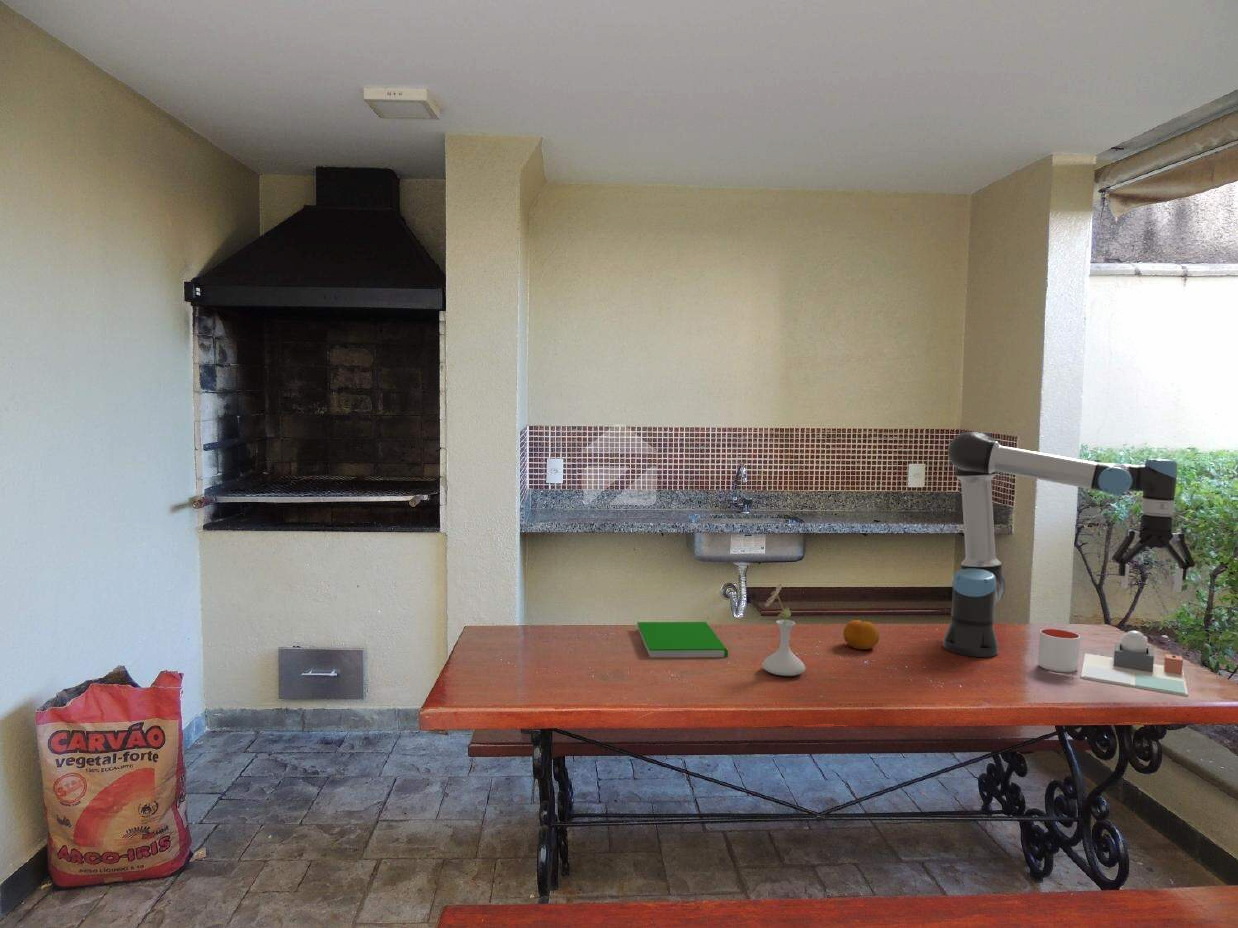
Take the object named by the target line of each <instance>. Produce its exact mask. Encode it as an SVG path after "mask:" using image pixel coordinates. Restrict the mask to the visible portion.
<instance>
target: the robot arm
mask: <svg viewBox="0 0 1238 928" xmlns="http://www.w3.org/2000/svg"><path fill="white" fill-rule="evenodd" d="M947 454H948V458H949V461H950V462H951V464H952V465H953V466H954V469H955V470H954V471H955V474H954V475H955V477H956V478H957V480H959V481H960V483H961V484H960V485H961V499H962V500H961V501H962V517H963V532H964V534H963V535H964V550H965V551H964V552H965V558H964V559H962V561H961V562H960V569H959V570H957V571H955V573H954V574H953V579H952V596H951V617H950V623H949V626H948V628H947V630H946V632H945V635H944V637H943V643H942V645H943V646H942V647H943V648H944V649H945V650H946V651H949V652H951V653H953V654H958V655H961V656H969V657H975V658H976V657H977V658H990V657H995V656H997V655H999V643H998V640H997V637H996V636H997V635H996V632H995V630H994V619H995V618H994V615H995V605H996V604H997V603H998V602H999V601H1000V600H1001V599H1002V598H1003V596H1004V595H1005V591H1006V581H1005V578H1004V576H1003V569H1002V562H1001V561H1000V560H999V559H998V558H997V556H996V542H995V540H996V539H995V525H994V508H993V493H992V492H993V489H992V480H993V479H994V477H996V475H997V472H998V473H1003V474H1008V475H1013V476H1014V475H1015V476H1018V477H1019V476H1020V477H1026V478H1030V479H1036V480H1040V481H1046V482H1051V483H1055V484H1062V485H1067V486H1071V487H1072V486H1073V487H1077V488H1083V489H1089V490H1094V491H1097V492H1098V491H1099V492H1103V493H1106V494H1108V495H1111V496H1113V495H1114V496H1117V495H1118V496H1119V495H1122V494H1124V493H1126V492H1138V493H1139V492H1141V493H1142V502H1141V510H1140V511H1141V512H1142V514H1141V515H1140V523H1139V525H1140V527H1139V528H1140V529H1139V530H1138V531H1137V530H1133V529H1130V528H1129V529H1127V531H1126V533H1125V537H1124V539H1123V541H1122V542H1121V543H1120V545H1119V547H1118V548H1117V550H1116V551H1115V553H1114V554H1113V555H1112V557H1111V560H1112V561H1113V562H1115V563H1118V575H1119V576H1121V580H1120V587H1122V588H1123V589H1128V587H1129V575H1130V574H1129V573H1130V565H1129V564H1128V563H1129V562H1131V560H1132V559H1134V558H1135V557H1136V556H1137V555H1138V554H1139V553H1140V552H1141V551H1142V550H1143V549H1145V548H1147V547H1148V548H1151V549H1152V548H1157V549H1163V548H1164V550H1165V551H1166V552H1167V553H1168V554H1169V556H1171V558H1172V559H1173V560H1174V561H1175V563H1176V564H1177V565H1178V566H1175V569H1174V570H1175V571H1174V573H1175V574H1174V582H1173V585H1174V586H1173V590H1174V591H1175V592H1176V593H1177V592H1178V593H1182V585H1183V581H1186V579H1187V572H1188V571H1187V570H1189V569H1190V568H1194V567H1195V566H1196V563H1195V561H1194V559H1193V557H1192V555H1191V552H1190V550H1189V548H1188V546H1187V544H1186V541H1185V534H1184V533H1182V532H1179V531H1178V532H1176V533H1175V532H1173V531H1172V529H1173V520H1174V517H1173V516H1172V515H1174V511H1175V510H1174V508H1175V497H1176V487H1177V478H1178V477H1177V474H1178V472H1177V471H1178V464H1177V462H1176V460H1173V459H1168V458H1167V459H1166V458H1147V459H1146V460H1145V463H1144V464H1129V463H1128V464H1126V463H1115V462H1114V463H1113V462H1096V461H1090V460H1082V459H1078V458H1072V457H1069V456H1068V457H1067V456H1061V455H1056V454H1050V453H1044V452H1040V451H1032V450H1027V449H1022V448H1016V447H1010V446H1004V445H1001V444H1000V443H999V441H997V440H994V439H993V438H992V437H991V436H990V435H989V434H987V433H986V432H983V431H969V432H963V433H960V434H958V435H957V436H955V437H954V438H953V439H952V440H951V441H950V443H949V445H948V448H947ZM1137 537H1138V538H1139V540H1138V541H1137V542H1136V544H1135V545H1134V546H1133V547H1132V548H1130V546H1131V545H1132V543H1133V541H1134V539H1136V538H1137ZM1172 539H1173V540H1174V541H1175V542H1176V545H1177V546H1178V549H1179V551H1180V553H1181V555H1182V556H1180V555H1179V553H1178V552H1177V551H1176V550H1175V548H1174V547H1173V545H1172V544H1171V543H1170V541H1171V540H1172ZM1129 548H1130V549H1129ZM1128 549H1129V550H1128ZM1182 557H1183V558H1182Z"/></svg>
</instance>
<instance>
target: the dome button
mask: <svg viewBox="0 0 1238 928" xmlns="http://www.w3.org/2000/svg"><path fill="white" fill-rule="evenodd" d="M1121 640H1122V641H1121V644H1122V651H1128V652H1135V653H1141V654H1146V651H1147V647H1148V637H1147V636H1146V635H1144V633H1142V632H1140V631H1138V630H1129V631H1127V632H1126V633H1125V632H1124V633H1122V639H1121Z"/></svg>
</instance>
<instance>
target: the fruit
mask: <svg viewBox="0 0 1238 928" xmlns="http://www.w3.org/2000/svg"><path fill="white" fill-rule="evenodd" d="M842 635H843V639H844V641H845V643H847V645H848V646H850V647H851V648H853V649H857V650H869V649H872V648H875V646H876V645H877V644H878V642H879V641H880V632H879V629H878V628H877V626H876V625H875V624H874V623H872V622H870V621H863V620H860V619H854V620H850V621H849V622H847V624H846V625H845V626H844V628H843V634H842Z"/></svg>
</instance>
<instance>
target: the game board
mask: <svg viewBox="0 0 1238 928" xmlns="http://www.w3.org/2000/svg"><path fill="white" fill-rule="evenodd" d="M1163 663H1164V664H1163V665H1162V664H1155V663H1153V672H1147V671H1141V670H1134V669H1128V668H1122V667H1116V666H1113V664H1114V657H1110V656H1104V655H1097V654H1092V653H1087V652H1086V653H1084V658H1083V665H1082V670H1081V676H1080V678H1081V679H1085V680H1090V681H1095V682H1101V683H1109V684H1113V685H1118V686H1125V687H1131V688H1137V689H1143V690H1148V691H1154V692H1160V693H1164V694H1165V693H1167V694H1173V695H1179V696H1183V697H1188V696H1189V692H1188V688H1187V683H1186V678H1185V674H1184V669H1183V665H1184V664H1183V663H1184V659H1183V656H1181V655H1174V654H1173V655H1172V654H1167V653H1165V654H1164V662H1163Z"/></svg>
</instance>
